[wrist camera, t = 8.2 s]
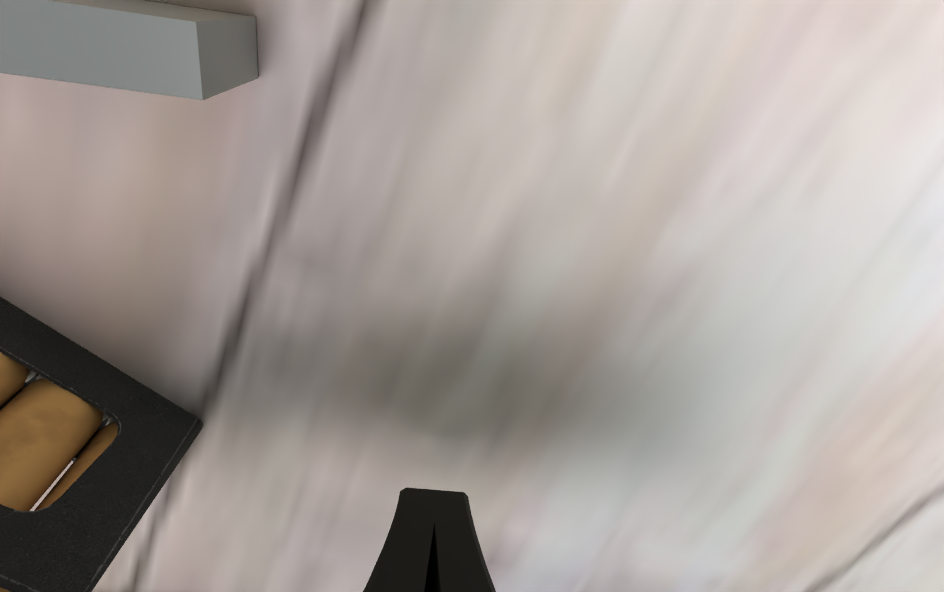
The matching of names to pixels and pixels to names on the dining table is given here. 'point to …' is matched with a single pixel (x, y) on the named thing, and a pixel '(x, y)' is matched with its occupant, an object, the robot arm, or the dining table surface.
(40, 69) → the frame
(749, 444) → the dining table surface
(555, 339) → the dining table surface
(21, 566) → the ammunition clip
